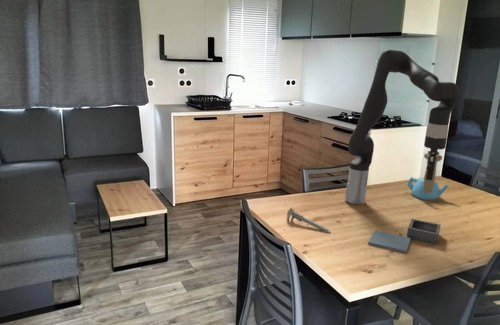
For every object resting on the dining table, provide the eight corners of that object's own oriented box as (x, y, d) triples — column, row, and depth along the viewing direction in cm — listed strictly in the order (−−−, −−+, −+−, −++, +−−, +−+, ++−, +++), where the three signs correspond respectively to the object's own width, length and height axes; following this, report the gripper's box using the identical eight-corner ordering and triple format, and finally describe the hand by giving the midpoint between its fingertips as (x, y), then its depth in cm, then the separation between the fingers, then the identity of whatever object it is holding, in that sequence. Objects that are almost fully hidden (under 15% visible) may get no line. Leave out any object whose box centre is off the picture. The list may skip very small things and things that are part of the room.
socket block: (406, 238, 164) (407, 228, 163) (410, 228, 174) (411, 218, 172) (437, 245, 159) (438, 234, 158) (439, 234, 169) (440, 224, 167)
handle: (431, 195, 157) (437, 157, 153) (416, 190, 162) (422, 154, 158) (438, 193, 160) (444, 156, 156) (423, 188, 165) (429, 152, 161)
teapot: (429, 191, 224) (432, 172, 221) (447, 201, 210) (450, 181, 207) (404, 192, 221) (407, 173, 219) (420, 201, 207) (423, 181, 204)
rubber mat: (368, 244, 157) (368, 241, 157) (374, 232, 169) (375, 229, 168) (406, 253, 151) (406, 250, 151) (410, 240, 162) (410, 237, 162)
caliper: (286, 221, 177) (287, 207, 176) (287, 220, 178) (288, 206, 176) (329, 233, 166) (331, 219, 164) (330, 233, 167) (332, 218, 165)
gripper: (427, 131, 163) (420, 172, 167) (424, 137, 150) (417, 181, 155) (447, 133, 159) (440, 175, 164) (446, 139, 147) (438, 184, 152)
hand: (429, 178), depth 159 cm, fingers closed on handle, 4 cm apart
